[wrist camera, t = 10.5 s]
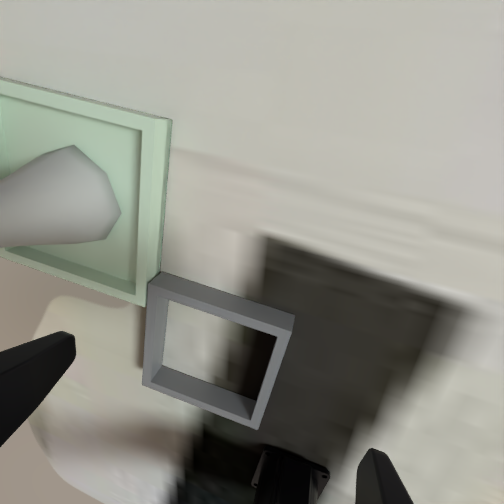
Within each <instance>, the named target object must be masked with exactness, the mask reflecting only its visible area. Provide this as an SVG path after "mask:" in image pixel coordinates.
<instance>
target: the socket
mask: <svg viewBox="0 0 504 504" xmlns="http://www.w3.org/2000/svg"><path fill="white" fill-rule="evenodd" d="M169 300H171V301H174V302H177V303H180V304H183V305H186V306H189V307H192V308H195V309H198V310H201V311H204V312H207V313H210V314H212V315H215V316H218V317H221V318H224V319H227V320H230V321H233V322H236V323H239V324H242V325H245V326H248V327H251V328H253V329H256V330H259V331H262V332H265V333H268V334H271V335H274V336H277V338H276V341H275V344H274V347H273V350H272V354H271V357H270V360H269V363H268V366H267V369H266V372H265V375H264V378H263V382H262V385H261V388H260V391H259V394H258V397H257V400H256V401H255V400H252V399H250V398H247V397H244V396H242V395H239V394H236V393H234V392H231V391H228V390H226V389H223V388H220V387H218V386H215V385H212V384H210V383H207V382H204V381H202V380H199V379H197V378H194V377H191V376H189V375H186V374H183V373H181V372H178V371H175V370H173V369H170V368H167V367H165V366H162V361H163V351H164V341H165V332H166V322H167V312H168V302H169ZM294 318H295V315H293V314H290V313H287V312H284V311H281V310H278V309H275V308H272V307H268V306H265V305H262V304H259V303H256V302H253V301H250V300H247V299H244V298H241V297H238V296H235V295H232V294H229V293H226V292H223V291H220V290H217V289H214V288H211V287H208V286H205V285H201V284H198V283H195V282H192V281H189V280H186V279H183V278H180V277H177V276H174V275H171V274H168V273H165V272H161V273H160V274H159V275H158V276H156V277H155V278H154V279H153V280H152V281H151V282H149V283H148V296H147V312H146V328H145V344H144V360H143V375H142V385H143V386H146V387H149V388H151V389H154V390H156V391H159V392H161V393H164V394H167V395H169V396H172V397H174V398H177V399H179V400H182V401H184V402H187V403H190V404H192V405H195V406H197V407H200V408H202V409H205V410H207V411H210V412H213V413H215V414H218V415H220V416H223V417H225V418H228V419H231V420H233V421H236V422H238V423H241V424H243V425H246V426H248V427H251V428H254V429H256V430H258V428H259V425H260V422H261V419H262V416H263V414H264V411H265V408H266V405H267V402H268V399H269V396H270V393H271V391H272V388H273V385H274V382H275V379H276V376H277V373H278V370H279V367H280V365H281V362H282V359H283V356H284V353H285V350H286V347H287V344H288V341H289V339H290V336H291V333H292V328H293V323H294Z"/></svg>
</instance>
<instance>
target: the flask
mask: <svg viewBox="0 0 504 504" xmlns="http://www.w3.org/2000/svg"><path fill="white" fill-rule="evenodd" d="M121 214H122V213H121V210H120V207H119V205H118V202H117V199H116V197H115V194H114V191H113V189H112V186H111V183H110V181H109V178H108V175H107V173H106V172H104V171H103V170H102V169H101V168H100V167H99V166H98V165H97V164H95V163H94V162H93V161H92V160H91V159H90V158H89V157H88V156H86V155H85V154H84V153H83V152H82V151H81V150H80V149H79V148H77V147H76V146H75V145H71V146H67V147H64V148H61V149H57V150H54V151H50V152H47V153H43V154H42V155H40V156H38V157H37V158H35V159H33V160H32V161H30V162H29V163H27V164H26V165H24V166H22V167H21V168H19V169H18V170H16V171H15V172H13V173H12V174H10V175H8V176H7V177H5V178H3V179H1V180H0V248H2V247H15V246H30V245H54V244H78V243H84V242H91V241H97V240H104V239H106V238H107V236H108V235H109V233H110V231H111V230H112V228H113V227H114V225H115V223H116V222H117V220H118V219H119V217H120V215H121Z"/></svg>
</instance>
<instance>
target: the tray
mask: <svg viewBox="0 0 504 504" xmlns="http://www.w3.org/2000/svg"><path fill="white" fill-rule="evenodd" d="M171 130H172V120H171V119H167V118H163V117H159V116H155V115H151V114H147V113H143V112H139V111H135V110H131V109H127V108H123V107H119V106H115V105H111V104H107V103H103V102H99V101H95V100H91V99H87V98H83V97H79V96H75V95H71V94H67V93H63V92H59V91H55V90H51V89H47V88H43V87H39V86H35V85H31V84H27V83H23V82H19V81H15V80H11V79H7V78H3V77H0V180H1V179H3V178H5V177H7V176H8V175H10V174H12V173H13V172H15V171H16V170H18V169H19V168H21V167H22V166H24V165H26V164H27V163H29V162H30V161H32V160H33V159H35V158H37V157H38V156H40V155H42V154H43V153H47V152H50V151H54V150H57V149H61V148H64V147H67V146H71V145H75V146H76V147H77V148H79V149H80V150H81V151H82V152H83V153H84V154H85V155H86V156H88V157H89V158H90V159H91V160H92V161H93V162H94V163H95V164H97V165H98V166H99V167H100V168H101V169H102V170H103V171H104V172H106V173H107V175H108V178H109V181H110V183H111V186H112V189H113V191H114V194H115V197H116V199H117V202H118V205H119V207H120V210H121V213H122V214H121V215H120V217H119V219H118V220H117V222H116V223H115V225H114V227H113V228H112V230H111V231H110V233H109V235H108V236H107V238H106V239H104V240H97V241H91V242H84V243H78V244H54V245H30V246H15V247H2V248H0V257H2V258H5V259H8V260H11V261H14V262H16V263H19V264H22V265H25V266H28V267H31V268H33V269H36V270H39V271H42V272H45V273H48V274H50V275H53V276H56V277H59V278H62V279H65V280H68V281H71V282H73V283H76V284H79V285H82V286H85V287H88V288H91V289H93V290H96V291H99V292H102V293H105V294H108V295H111V296H113V297H116V298H119V299H122V300H125V301H128V302H130V303H133V304H136V305H139V306H142V307H145V306H146V305H147V296H148V283H149V282H151V281H152V280H153V279H154V278H155V277H156V276H158V275H159V274H160V264H161V252H162V240H163V228H164V215H165V203H166V191H167V179H168V166H169V154H170V142H171Z"/></svg>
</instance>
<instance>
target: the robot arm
mask: <svg viewBox="0 0 504 504" xmlns="http://www.w3.org/2000/svg"><path fill="white" fill-rule="evenodd" d="M75 357H76V345H75V337H74V335H72V334H70V333H67V332H64V331H59V332H56V333H53V334H50V335H47V336H44V337H41V338H39V339H36V340H33V341H30V342H27V343H24V344H22V345H19V346H16V347H13V348H10V349H7V350H4V351H2V352H0V447H1V446H2V445H3V444H4V443H5V442H6V440H7V439H8V438H9V437H10V436H11V435H12V434H13V433H14V432H15V431H16V430H17V429H18V427H20V426H21V424H22V423H23V422H24V421H25V420H26V419H27V418H28V417H29V416H30V415H31V414H32V413H33V411H34V410H35V409H36V408H37V407H38V406H39V404H40V403H41V402H42V401H43V400H44V398H45V397H46V396H47V395H48V393H49V392H50V391H51V389H52V388H53V387H54V386H55V384H56V383H57V382H58V381H59V379H60V378H61V377H62V375H63V374H64V373H65V372H66V370H67V369H68V368H69V367H70V365H71V364H72V363H73V361H74V359H75ZM329 479H330V472H329V471H328V470H327V469H324V468H322V467H319V466H317V465H314V464H312V463H309V462H307V461H304V460H302V459H299V458H297V457H294V456H292V455H289V454H287V453H284V452H282V451H279V450H277V449H274V448H271V447H268V446H266V447H264V449H263V451H262V454H261V457H260V459H259V462H258V465H257V467H256V470H255V473H254V475H253V478H252V482H251V485H252V486H253V487H255V488H257V489H256V494H255V499H254V503H253V504H317V499H318V498H319V496H320V494H321V493H322V491H323V489H324V488H325V486H326V484H327V482H328V481H329ZM355 504H414V503H413V501H412V500H411V498H410V496H409V494H408V492H407V490H406V488H405V486H404V485H403V483H402V481H401V479H400V477H399V475H398V473H397V472H396V470H395V468H394V466H393V464H392V462H391V460H390V459H389V457H388V456H387V454H385V453H384V452H381V451H379V450H376V449H373V448H370V449H369V450H368V451H367V453H366V454H365V456H364V457H363V459H362V460H361V462H360V464H359V466H358V469H357V479H356V502H355Z"/></svg>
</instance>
